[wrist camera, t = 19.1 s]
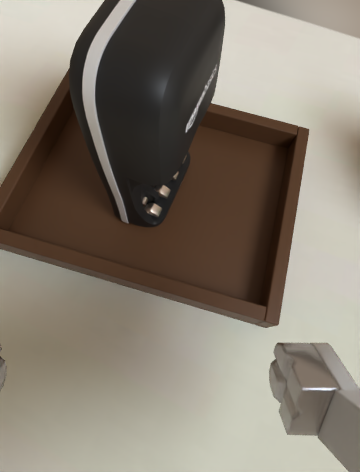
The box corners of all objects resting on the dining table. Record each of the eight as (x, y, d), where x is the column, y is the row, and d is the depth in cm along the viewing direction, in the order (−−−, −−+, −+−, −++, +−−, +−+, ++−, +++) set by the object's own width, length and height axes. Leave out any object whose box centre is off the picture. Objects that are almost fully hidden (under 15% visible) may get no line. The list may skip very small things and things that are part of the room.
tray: (-8, 246, 19) (-29, 234, 17) (77, 89, 23) (69, 65, 21) (266, 328, 18) (279, 325, 16) (297, 147, 22) (309, 128, 21)
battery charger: (166, 243, 19) (172, 106, 8) (111, 221, 19) (46, 61, 8) (204, 157, 21) (247, -36, 10) (155, 139, 21) (147, -67, 11)
